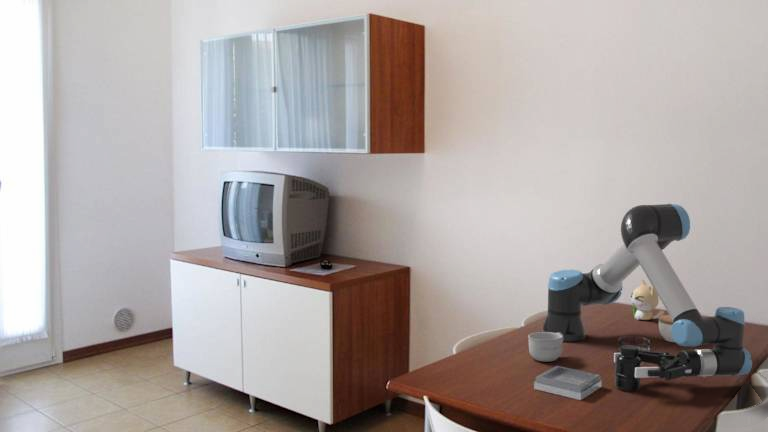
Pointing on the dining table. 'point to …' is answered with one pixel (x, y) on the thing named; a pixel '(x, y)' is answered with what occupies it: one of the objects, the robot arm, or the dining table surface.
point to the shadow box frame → (568, 382)
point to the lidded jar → (666, 327)
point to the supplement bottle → (627, 369)
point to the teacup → (545, 345)
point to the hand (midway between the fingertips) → (624, 364)
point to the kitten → (645, 302)
